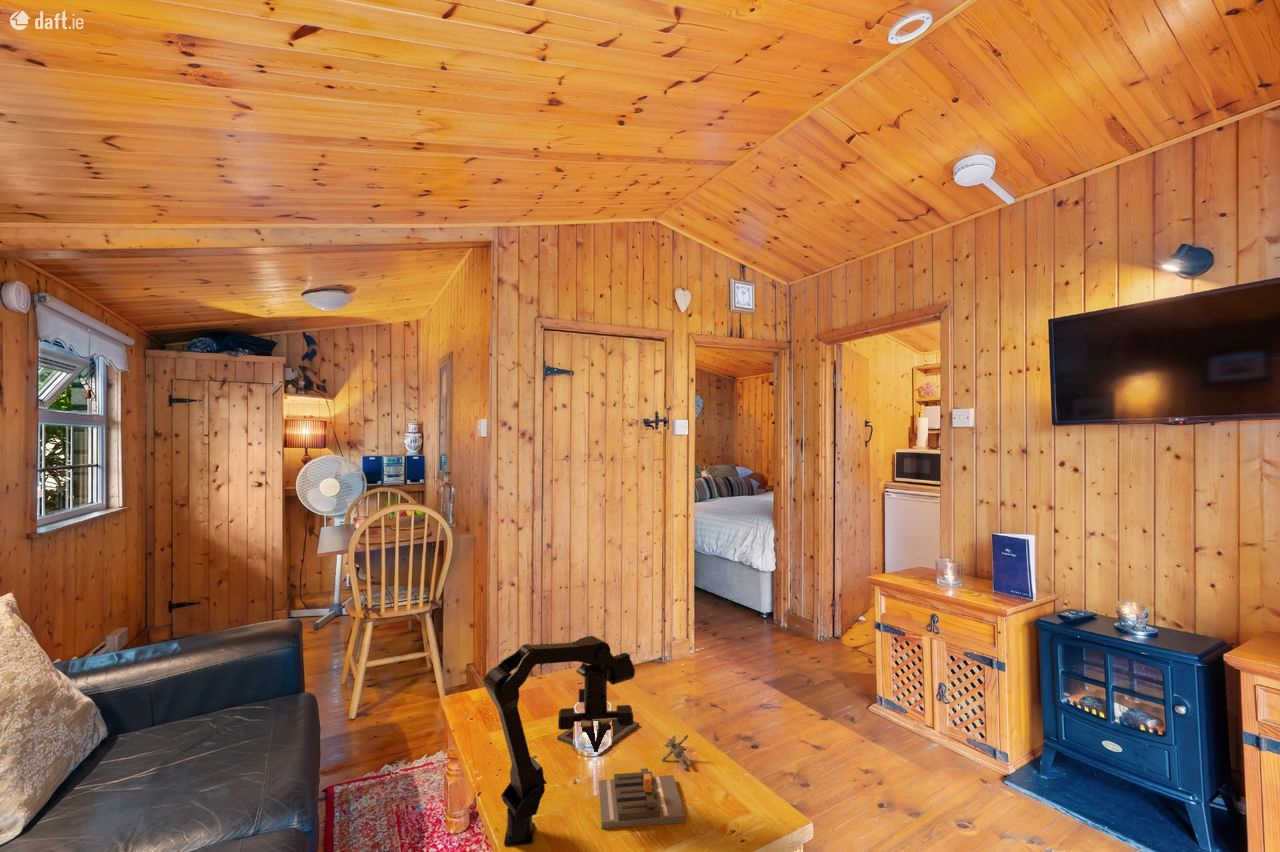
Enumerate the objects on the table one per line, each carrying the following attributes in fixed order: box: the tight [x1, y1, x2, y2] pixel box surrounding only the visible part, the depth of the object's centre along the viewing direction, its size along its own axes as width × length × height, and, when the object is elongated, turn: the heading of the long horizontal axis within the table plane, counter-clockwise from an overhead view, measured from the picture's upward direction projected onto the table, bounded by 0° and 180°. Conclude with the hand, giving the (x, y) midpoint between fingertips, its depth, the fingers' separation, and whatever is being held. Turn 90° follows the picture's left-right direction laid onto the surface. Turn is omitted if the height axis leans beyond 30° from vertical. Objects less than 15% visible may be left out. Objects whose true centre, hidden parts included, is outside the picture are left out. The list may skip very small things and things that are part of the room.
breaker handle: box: [644, 774, 652, 793], centre depth 146 cm, size 2×2×3 cm
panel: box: [598, 767, 686, 830], centre depth 146 cm, size 17×20×4 cm
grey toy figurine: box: [661, 734, 692, 771], centre depth 164 cm, size 10×6×9 cm
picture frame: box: [556, 719, 640, 747], centre depth 181 cm, size 16×2×21 cm
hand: (596, 750), depth 146 cm, fingers closed
